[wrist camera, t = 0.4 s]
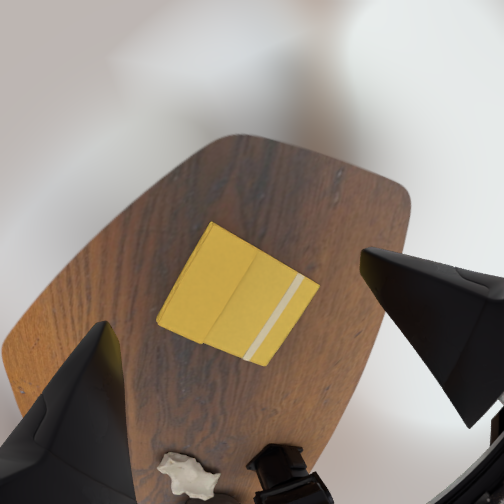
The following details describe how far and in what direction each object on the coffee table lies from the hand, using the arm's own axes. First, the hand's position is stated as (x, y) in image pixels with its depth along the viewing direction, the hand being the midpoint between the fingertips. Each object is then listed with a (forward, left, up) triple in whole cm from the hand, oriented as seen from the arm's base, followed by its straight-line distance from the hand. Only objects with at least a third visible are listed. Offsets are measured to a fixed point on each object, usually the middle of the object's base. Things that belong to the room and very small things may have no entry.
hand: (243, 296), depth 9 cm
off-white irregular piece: (-30, -13, -15) cm, 36 cm away
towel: (-4, -6, -15) cm, 17 cm away
